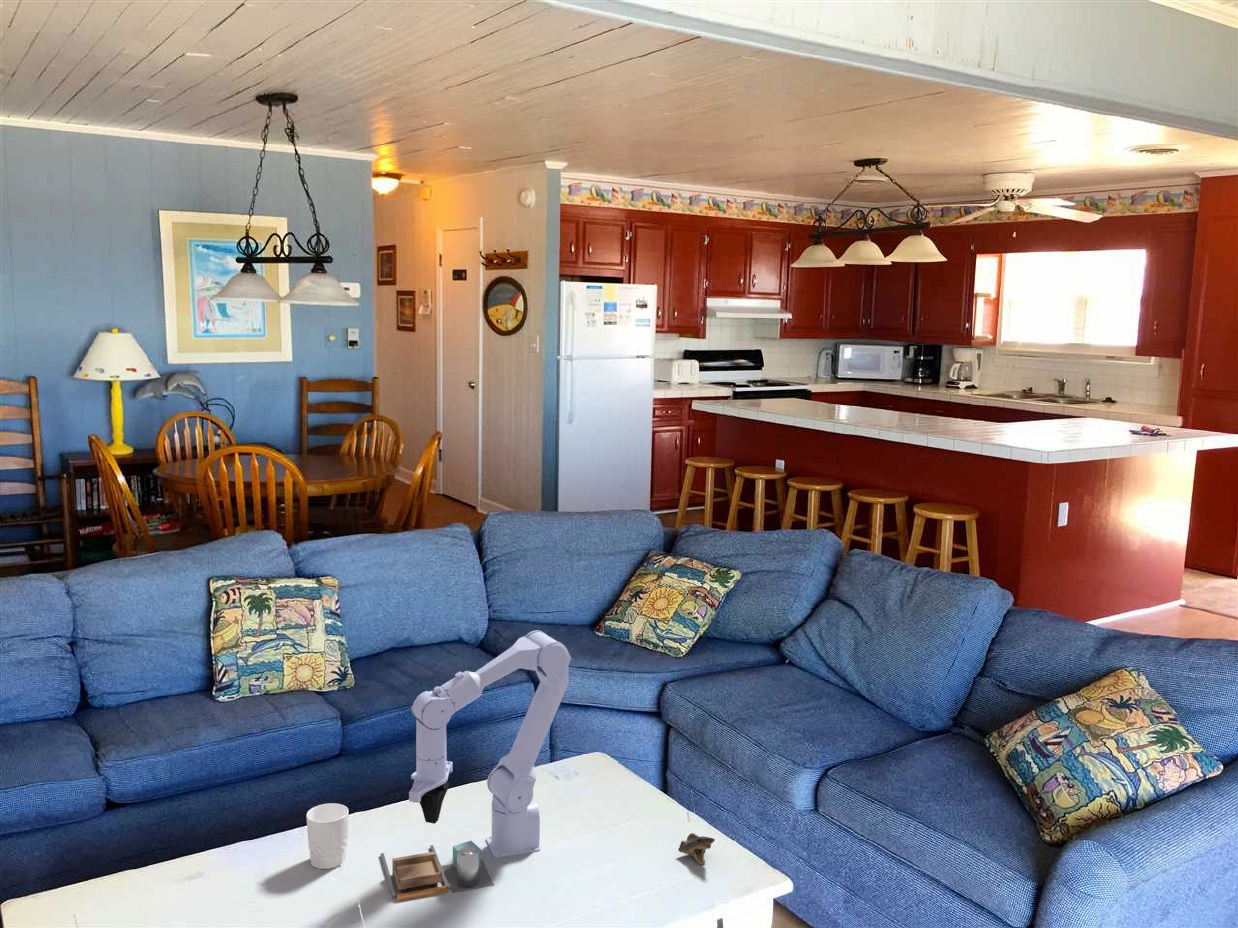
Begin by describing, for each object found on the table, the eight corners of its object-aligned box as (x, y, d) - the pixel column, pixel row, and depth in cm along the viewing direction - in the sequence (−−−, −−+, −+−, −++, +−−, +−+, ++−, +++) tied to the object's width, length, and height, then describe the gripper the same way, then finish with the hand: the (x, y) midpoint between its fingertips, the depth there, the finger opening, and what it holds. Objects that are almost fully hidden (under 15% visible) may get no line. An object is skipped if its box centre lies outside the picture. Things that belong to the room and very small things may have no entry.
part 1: (471, 859, 199) (471, 840, 199) (480, 868, 196) (480, 848, 196) (452, 865, 197) (452, 846, 196) (462, 874, 194) (462, 854, 193)
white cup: (337, 873, 194) (336, 824, 192) (299, 868, 195) (298, 819, 194) (355, 853, 201) (355, 805, 200) (319, 848, 203) (318, 801, 201)
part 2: (475, 875, 194) (476, 845, 193) (480, 885, 190) (480, 855, 189) (455, 878, 192) (455, 849, 191) (459, 889, 188) (459, 859, 188)
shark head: (720, 870, 200) (728, 838, 199) (692, 871, 197) (700, 840, 196) (700, 847, 207) (708, 817, 206) (673, 849, 204) (681, 818, 203)
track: (432, 848, 204) (432, 843, 203) (450, 893, 188) (450, 887, 188) (380, 857, 200) (380, 851, 200) (393, 903, 184) (393, 897, 184)
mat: (481, 860, 200) (481, 858, 200) (494, 886, 190) (494, 884, 190) (441, 866, 197) (441, 865, 197) (452, 893, 188) (452, 892, 187)
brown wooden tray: (434, 868, 196) (434, 851, 196) (441, 888, 189) (441, 870, 189) (392, 875, 193) (392, 858, 193) (398, 896, 186) (398, 878, 186)
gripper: (429, 737, 202) (430, 801, 204) (394, 766, 188) (394, 835, 190) (462, 741, 200) (462, 806, 202) (428, 772, 186) (428, 841, 188)
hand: (431, 821), depth 196 cm, fingers closed
